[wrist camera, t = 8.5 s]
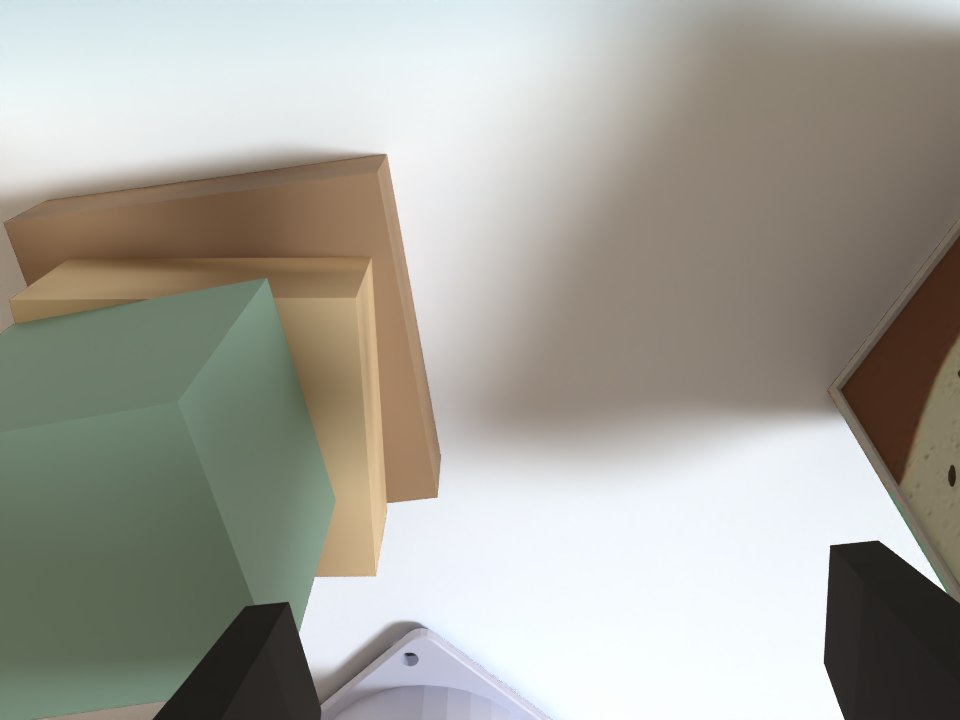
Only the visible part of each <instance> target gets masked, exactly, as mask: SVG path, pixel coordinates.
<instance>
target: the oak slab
mask: <svg viewBox="0 0 960 720" xmlns="http://www.w3.org/2000/svg"><path fill="white" fill-rule="evenodd" d="M263 278H267V280H268V283H269V286H270V289H271V293H272V296H273V299H274V302H275V305H276V309H277V312H278V315H279V318H280V322H281V325H282V328H283V331H284V335H285V338H286V341H287V344H288V348H289V351H290V354H291V357H292V360H293V364H294V367H295V370H296V373H297V377H298V380H299V383H300V386H301V390H302V393H303V396H304V399H305V403H306V406H307V409H308V412H309V415H310V419H311V422H312V425H313V428H314V432H315V435H316V438H317V441H318V445H319V448H320V451H321V454H322V458H323V461H324V464H325V467H326V470H327V474H328V477H329V480H330V483H331V487H332V490H333V493H334V496H335V500H336V502H335V506H334V509H333V513H332V517H331V520H330V524H329V527H328V531H327V535H326V538H325V542H324V545H323V549H322V552H321V556H320V560H319V563H318V567H317V570H316V574H315V577H347V576H376V573H377V567H378V561H379V556H380V550H381V544H382V538H383V532H384V526H385V521H386V515H387V500H386V484H385V467H384V451H383V435H382V419H381V403H380V387H379V370H378V354H377V338H376V322H375V306H374V290H373V273H372V257H340V258H157V259H68V260H66V261H65V262H63V263H62V264H61V265H59V266H58V267H56V268H55V269H53V270H52V271H50V272H49V273H47V274H46V275H45V276H43V277H42V278H40V279H39V280H37V281H36V282H34V283H33V284H31V285H30V286H29V287H27V288H26V289H24V290H23V291H21V292H20V293H18V294H17V295H15V296H14V297H13V298H11V299H10V300H9V301H10V305H11V309H12V313H13V317H14V321H15V324H17V323H22V322H28V321H33V320H39V319H44V318H50V317H55V316H61V315H66V314H71V313H77V312H82V311H88V310H93V309H99V308H104V307H110V306H115V305H121V304H126V303H132V302H137V301H142V300H148V299H153V298H159V297H164V296H170V295H175V294H181V293H186V292H192V291H197V290H203V289H208V288H214V287H219V286H225V285H230V284H236V283H241V282H247V281H252V280H258V279H263Z"/></svg>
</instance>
